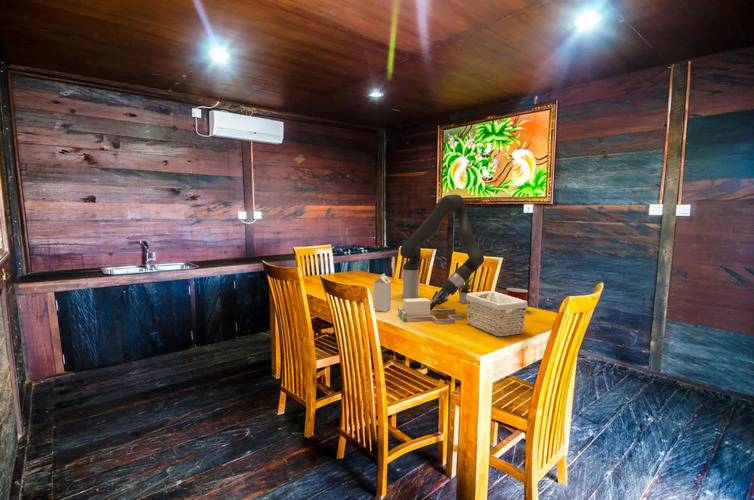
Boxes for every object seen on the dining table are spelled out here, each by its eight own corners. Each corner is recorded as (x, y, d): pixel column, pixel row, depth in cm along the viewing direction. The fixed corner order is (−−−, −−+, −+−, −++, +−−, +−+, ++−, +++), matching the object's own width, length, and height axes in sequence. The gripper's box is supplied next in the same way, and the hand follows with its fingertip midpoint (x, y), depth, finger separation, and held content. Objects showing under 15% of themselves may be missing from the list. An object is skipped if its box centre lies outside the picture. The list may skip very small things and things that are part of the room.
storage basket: (463, 323, 183) (464, 292, 182) (491, 319, 189) (492, 289, 188) (497, 339, 161) (499, 304, 160) (527, 334, 168) (529, 301, 166)
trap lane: (395, 312, 201) (395, 304, 201) (450, 309, 207) (450, 302, 206) (407, 325, 178) (407, 317, 178) (468, 322, 184) (468, 314, 183)
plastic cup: (530, 311, 204) (531, 288, 203) (522, 315, 196) (523, 292, 195) (510, 307, 212) (511, 285, 210) (501, 311, 204) (502, 288, 202)
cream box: (402, 316, 193) (403, 298, 192) (426, 315, 195) (426, 298, 194) (406, 320, 187) (406, 301, 186) (429, 318, 189) (430, 300, 188)
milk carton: (373, 310, 203) (373, 275, 201) (378, 307, 210) (378, 272, 208) (386, 312, 201) (386, 276, 198) (390, 308, 207) (391, 273, 205)
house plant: (483, 301, 224) (484, 273, 222) (475, 306, 213) (476, 277, 211) (459, 298, 232) (460, 271, 230) (450, 303, 220) (451, 274, 218)
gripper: (443, 276, 198) (420, 300, 197) (453, 280, 185) (428, 307, 185) (453, 285, 200) (430, 310, 199) (463, 291, 187) (438, 317, 186)
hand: (429, 308), depth 192 cm, fingers closed
